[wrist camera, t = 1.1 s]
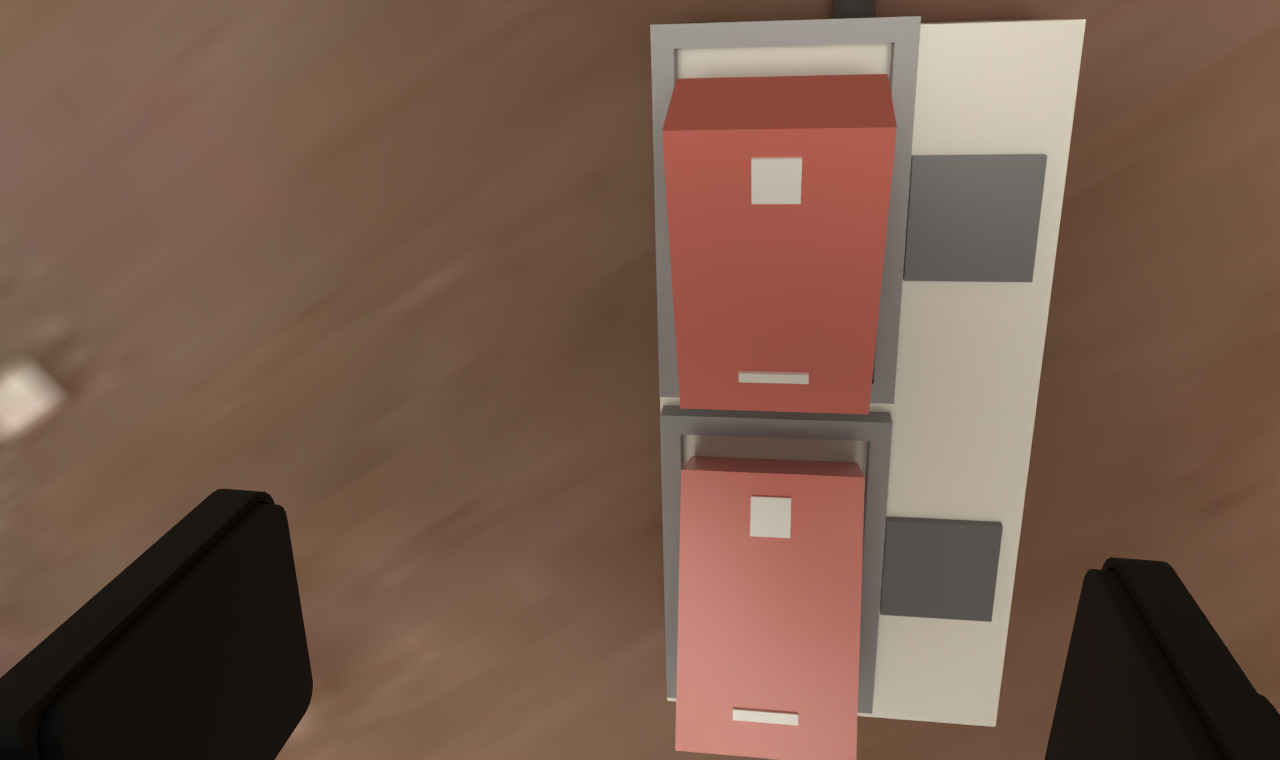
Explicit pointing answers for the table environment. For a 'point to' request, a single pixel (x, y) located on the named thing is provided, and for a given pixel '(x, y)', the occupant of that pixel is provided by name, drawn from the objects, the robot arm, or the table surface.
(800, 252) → the block
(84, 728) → the robot arm
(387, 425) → the table surface
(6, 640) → the table surface
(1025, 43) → the power strip
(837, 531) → the rocker
